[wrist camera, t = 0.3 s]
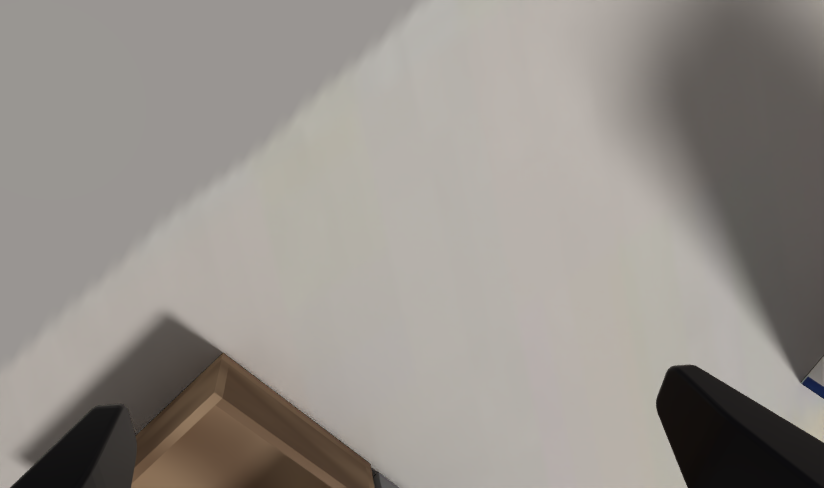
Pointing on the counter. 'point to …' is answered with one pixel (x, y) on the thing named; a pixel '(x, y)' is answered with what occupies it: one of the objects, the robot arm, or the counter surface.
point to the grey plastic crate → (382, 482)
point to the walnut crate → (241, 440)
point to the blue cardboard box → (816, 379)
